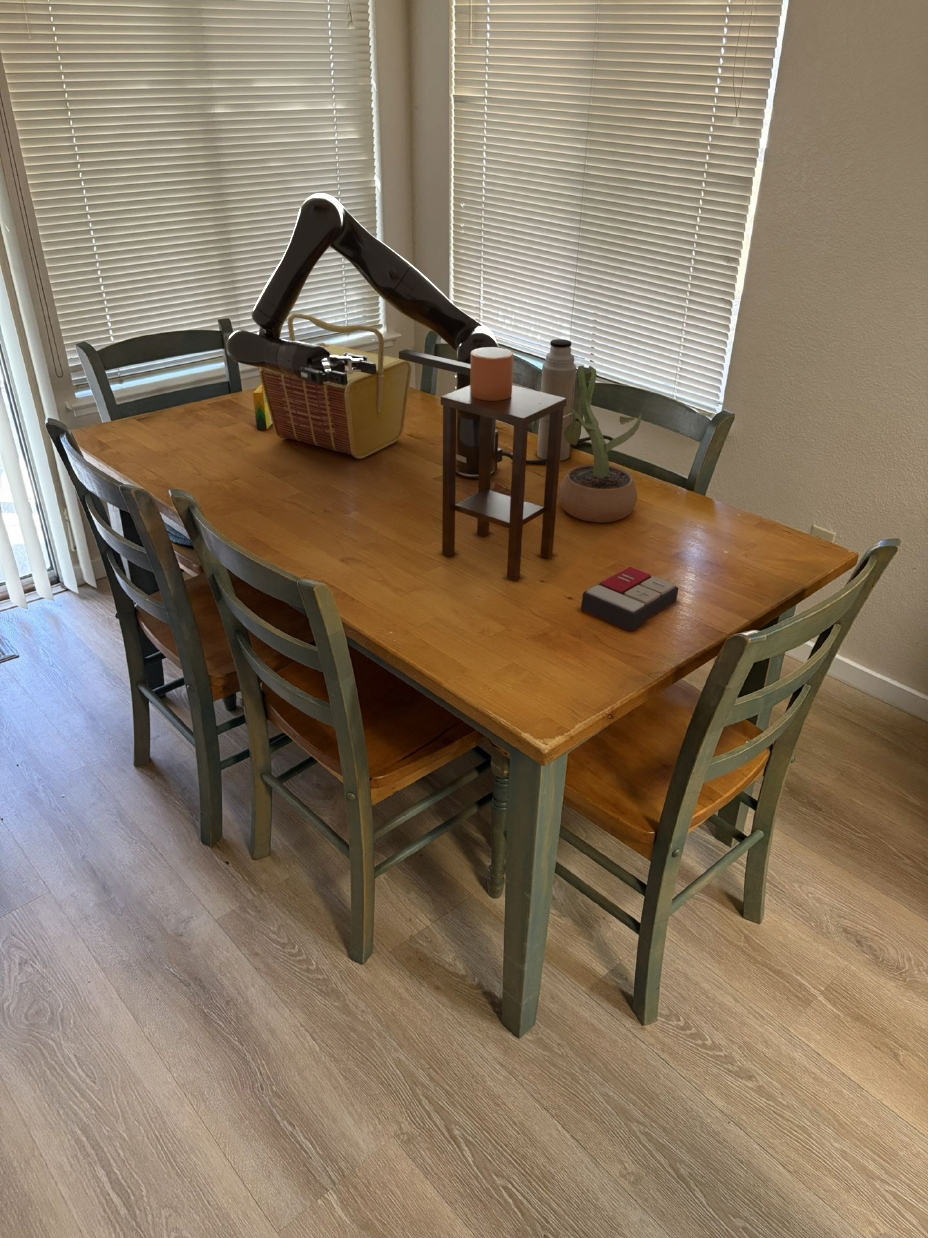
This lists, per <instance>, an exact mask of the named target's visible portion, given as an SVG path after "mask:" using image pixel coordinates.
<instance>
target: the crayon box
mask: <svg viewBox="0 0 928 1238" xmlns="http://www.w3.org/2000/svg"><path fill="white" fill-rule="evenodd" d="M252 397H253V398H252V399H253V407H254V417H255V425H256V430H268V429H269V428H270V427H271V425H273V423H272V419H271V415H270V412H269V408H268V404H267V401H266V397H265V393H264V390H263V386H262V383H261V384H260V385H259V386H258V387H257V388H256V389H255V390H253V392H252Z"/></svg>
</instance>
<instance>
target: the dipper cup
mask: <svg viewBox="0 0 928 1238" xmlns="http://www.w3.org/2000/svg"><path fill="white" fill-rule="evenodd" d="M398 359H402V360H406V361H409V362H410V363H415V364H418V365H423V366H427V367H431V368H435V369H438V370H439V369H440V370H443V371H448V372H452V373H455V374H457V373H460V374H464V375H468V376H470V395H471V396H472V397H474V398H476V399H480V400H486V401H498V400H504V399H508V398H510V397H511V395H512V385H513V379H514V378H513V374H514V351H512V350H510V349H507V348H504V347H499V348H497V347H484V348H478V349H475V350H473V351H471V364H467V363H463V362H458V361H457V360H454V359H450V358H446V357H441V356H436V355H433V354H427V353H424V352H420V351H414V350H412V349H411V350H410V349H406V348H405V349H402V350H400V351H398Z"/></svg>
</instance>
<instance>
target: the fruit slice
mask: <svg viewBox="0 0 928 1238" xmlns="http://www.w3.org/2000/svg"><path fill="white" fill-rule="evenodd" d="M490 490H491V491H494V492H497V493H500V494H503V495H506V496H509V497H511V488H508V486H503V485H501V484H500V483H497V482H496V481H494V480H492V481H491V484H490Z"/></svg>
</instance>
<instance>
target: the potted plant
mask: <svg viewBox="0 0 928 1238" xmlns="http://www.w3.org/2000/svg"><path fill="white" fill-rule="evenodd" d="M587 370H589V371H590V372H587V373H585V365H578V366H577V376H578V377H577V379H576V384H578V388H579V392H580V395H579V396H580V402H579V403H580V410H581V412H582V415H583V418H582V416H580V415H579V414H578V412H577V411H576V410H575V409H574V407H573V408H572V407H571V406H570V407H569V409H570V411H571V412H572V413H569V414H567V415H565V416H563V418H564V417H566V416H569V415H571V414H572V416H574V418H575V420H573V421H572V423H571V424H570V425H569V426H568V427H567V428H566V430H565V432H564V437H565V440H566V441H567V442H568V443H570V444H572V445H573V447H575V448H577V445H578V443H577V442H578V440H579V439H581V434H582V428H583V429H584V430H585V432H586V433H587V435H588V437H590V439H591V440H590V442H591V450H592V456H593V463H590V464H589V463H588V464H582V465H577V466H574V467H572V468H570V469H568V471H567V472H566V474H565V476H564V478H563V479H562V481H561V483H560V486H559V487H558V489H559V490H558V501H559V503H560V505H561V507H562V509H563V510H564V512H566V513H567V514H568V515H570V516H571V517H574V518H575V519H578V520H581V521H584V522H591V523H600V524H601V523H611V522H617V521H619V520H623V519H625V518H626V517H627V516H629V515H630V514H631V513H632V512H633V510H634V508H635V507H636V505H637V502H638V489H637V486H636V484H635V481H634V477H633V475H632V474H631V473H630V472H628V471H627V470H625V469H623V468H620V467H617V466H615V465H614V466H613V465H610V463H609V455H608V452H610V451H612V450H613V449H614V448H616V447H618V446H621V445H622V444H623V443H625V442H627V441H628V440H629V439H631V438H632V437H633V436H634V435H635V434H636V432H637V431H638V430H639V428H640V425H641V421H642V413H639V416H638V417H637V418H635V417H627V416H622V415H620V416H619V424H620V425H626V424H629V423H631V422H634V421H636V422H635V423H634V425H633V426H632V427H631V428H630V429H629V430H627V431H626V432H624V433H623V434H620V435H618V436H617V437H615V438H613V440H611V441H610V440H609V441H608V442H606V439H604V438H603V435H604V434H603V433H602V431H601V429H600V425H599V421H598V419H597V418H596V416H595V414H594V412H593V410H592V407H591V406H592V399H593V394H594V390H595V387H596V386H595V385H596V381H597V378H598V374H597V369H596V368H595V367H593V366H592V365H589V366H588V368H587ZM587 383H588V386H587ZM545 422H549V421H545ZM581 426H582V427H581Z"/></svg>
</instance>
